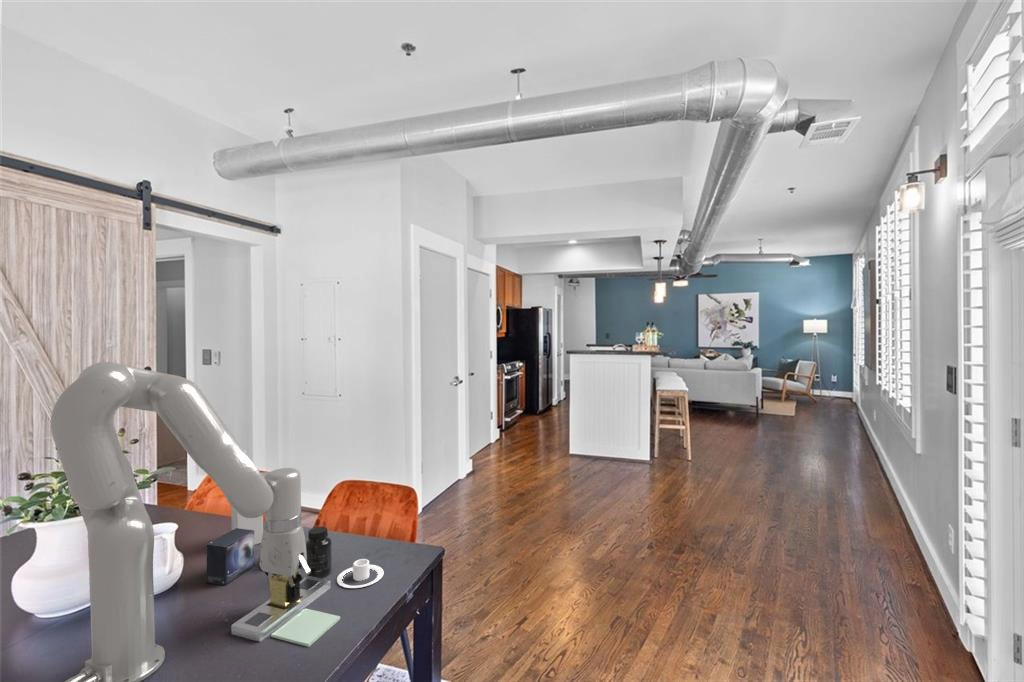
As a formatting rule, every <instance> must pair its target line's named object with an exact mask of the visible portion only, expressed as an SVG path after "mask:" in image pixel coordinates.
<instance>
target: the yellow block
mask: <svg viewBox="0 0 1024 682" xmlns="http://www.w3.org/2000/svg"><path fill="white" fill-rule="evenodd" d="M295 578H296V574H294V579H295ZM289 586H290V584H289V579H288V576H283V575H278V574H277V575H276V576H274V577H272V578H271V579H270V582H269V599H270V606H271V607H275V608H279V609H283V610H286V609H287V608H289V607H290V606H291V605H293V604H294V603H295V602H297V601H298V600H299V599H300V597H299V598H298V599H296V600H295V601H294V602H292V603H291V604H290V603H288V587H289Z"/></svg>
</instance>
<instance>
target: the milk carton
mask: <svg viewBox="0 0 1024 682" xmlns="http://www.w3.org/2000/svg"><path fill="white" fill-rule="evenodd" d="M230 513H231V517H230V518H231V531H232V530H234V529H236V528H240V529H247V530H254V546H255V545H259V544H261V540H262V534H263V531H264V517H263V516H264V514H263V515H262V516H260V517H256V518H246V517H243V516H241V515H240V514H239V513H238V512H237V511H236V510H235V509H234V508H233V507H232V506H231V505H230Z"/></svg>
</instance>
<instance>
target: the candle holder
mask: <svg viewBox="0 0 1024 682" xmlns="http://www.w3.org/2000/svg"><path fill="white" fill-rule="evenodd" d="M370 569H372V570H371V571H374V570H375V571H376V572H377V573H376V572H375V571H374V572H375V573H376V577H375V578H374V579H373V580H372V581H370V582H368V583H365V584H359V585H351V584H350V585H349V584H346V583H343V582H344V578H343V576H344V575H345V574H346V573H348V572H350V571H352V578H353V580H354V581H356V582H361V581H362V580H363V581H365V579H366V580H367V579H369V578H370ZM350 573H351V572H350ZM384 573H385V572H384V569H383V568H382V567H380V566H379V565H376V564H370V560H369V559H367V558H359V559H357V560H355V561H354V562H353V563H352V567H349V568H347V569H344V570H342V572H341V573H339V574H338V576H337V577H336V583H337V584H338V586H340V587H343V588H345V589H346V588H347V589H359V588H360V589H361V588H364V587H368V586H371V585H374V584H375V583H377V582H379V581H380V580H381V579H382V578H383V576H384ZM348 574H349V573H348ZM377 574H378V575H377ZM345 576H346V575H345ZM345 576H344V577H345ZM342 579H343V581H342ZM363 581H362V582H363Z"/></svg>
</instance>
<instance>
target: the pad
mask: <svg viewBox="0 0 1024 682" xmlns="http://www.w3.org/2000/svg"><path fill="white" fill-rule="evenodd" d="M340 620H341V616H340V615H336V614H331V613H327V612H323V611H319V610H313V609H309V608H306V607H305V608H304V609H302V610H301V611H300V612H298V613H297V614H296V615H294V616H293V617H292V618H291V619H289V620H288V621H287V622H285V623H284V624H283V625H281V626H280V627H279V628H278V629H276V630H275V631H274V632H272V633H271V634H270V637H271V638H274V639H278V640H281V641H286V642H289V643H292V644H296V645H299V646H304V647H308V648H309V647H310V646H312V644H314V643H315V642H316V641H317V640H318V639H319V638H321V637H323V635H324V634H325V633H326V632H328V630H330V629H331V628H332V627H333V626H334V625H335V624H337V623H338V622H339V621H340Z"/></svg>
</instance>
